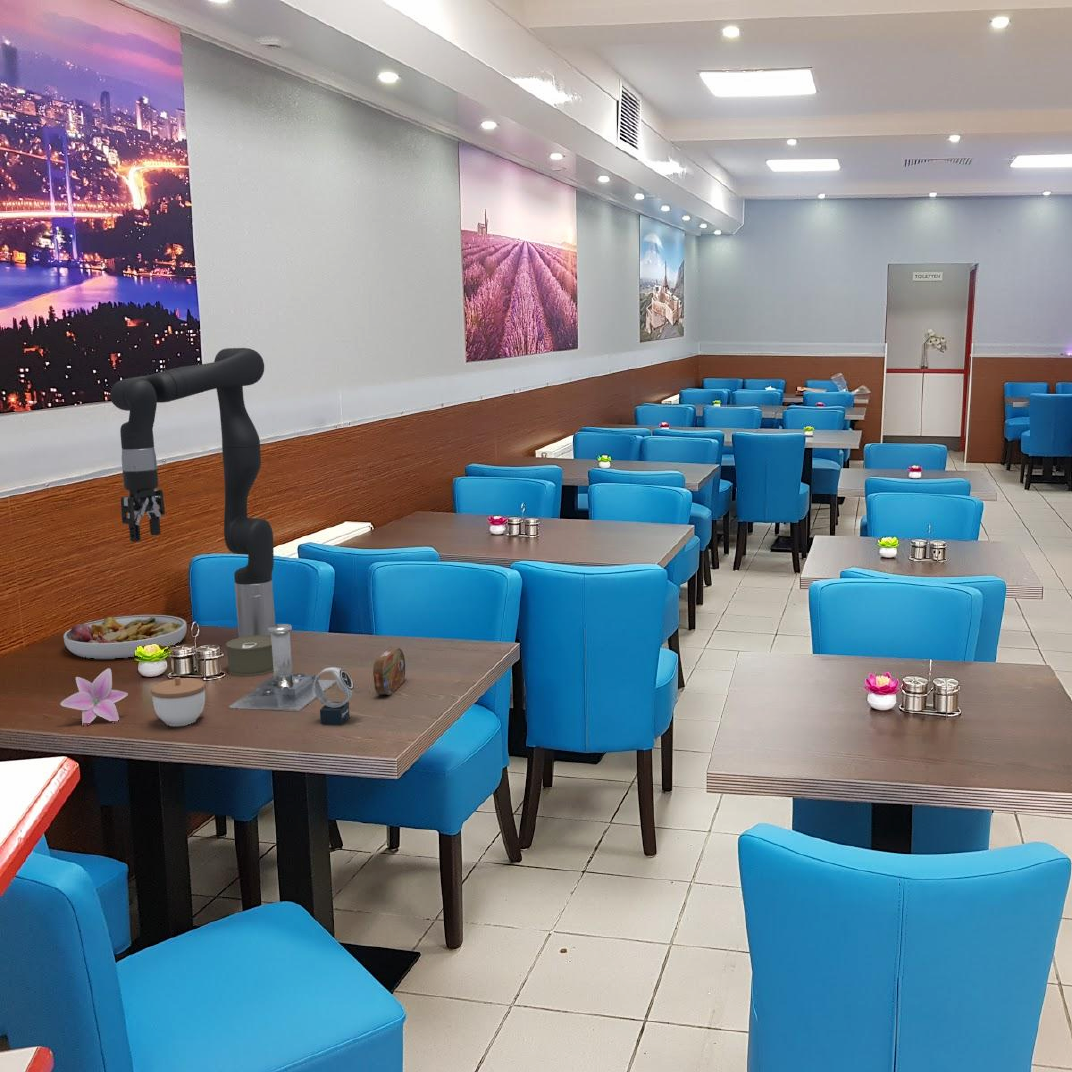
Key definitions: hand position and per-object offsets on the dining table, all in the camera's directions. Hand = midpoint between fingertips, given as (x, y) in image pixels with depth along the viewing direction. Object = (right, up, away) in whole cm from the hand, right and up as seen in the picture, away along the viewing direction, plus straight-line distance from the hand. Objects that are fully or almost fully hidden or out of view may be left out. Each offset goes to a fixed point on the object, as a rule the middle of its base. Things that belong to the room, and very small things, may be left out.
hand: (145, 538), depth 269 cm
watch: (+49, -37, -29) cm, 68 cm away
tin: (+57, -34, -9) cm, 67 cm away
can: (+22, -32, +10) cm, 40 cm away
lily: (-2, -38, -25) cm, 45 cm away
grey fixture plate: (+34, -34, -11) cm, 50 cm away
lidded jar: (+16, -38, -27) cm, 49 cm away
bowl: (-16, -29, +35) cm, 48 cm away
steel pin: (+34, -34, -11) cm, 49 cm away
